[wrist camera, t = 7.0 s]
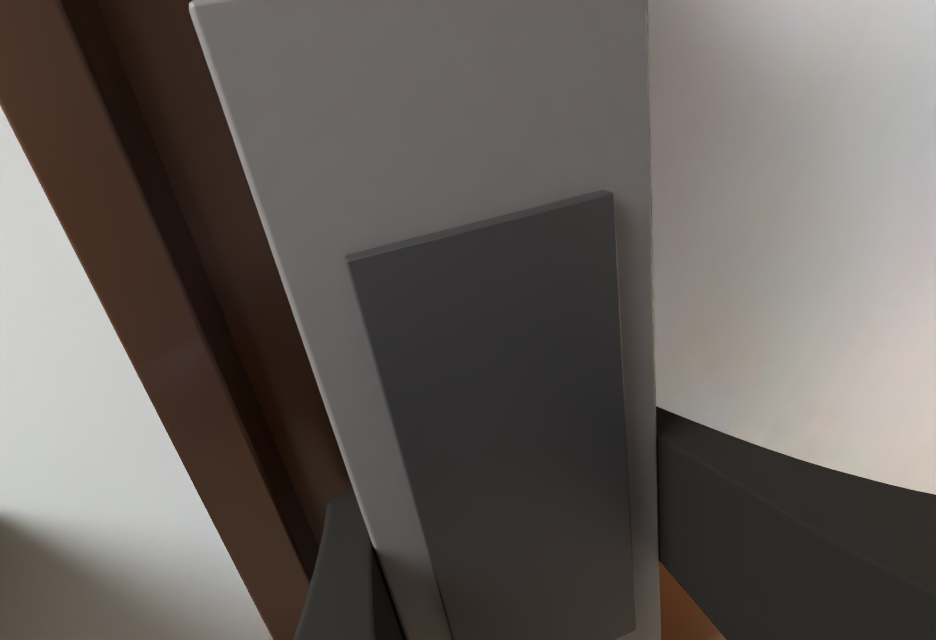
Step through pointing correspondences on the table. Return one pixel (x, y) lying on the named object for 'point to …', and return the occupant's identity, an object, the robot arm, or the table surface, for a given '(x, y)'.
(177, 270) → the wooden tray
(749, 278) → the table surface
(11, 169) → the table surface
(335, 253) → the remote
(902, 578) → the robot arm
